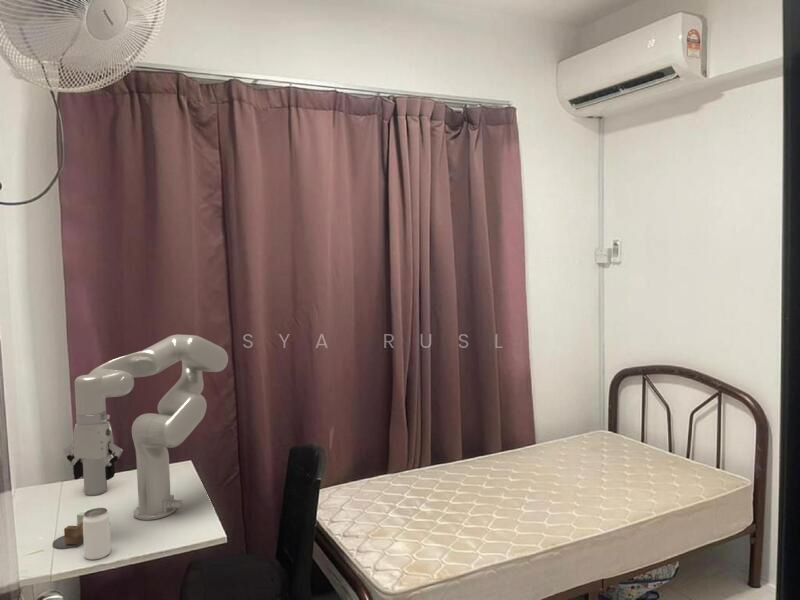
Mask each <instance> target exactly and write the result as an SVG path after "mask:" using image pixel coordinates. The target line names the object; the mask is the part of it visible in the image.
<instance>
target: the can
mask: <svg viewBox="0 0 800 600" xmlns="http://www.w3.org/2000/svg"><path fill="white" fill-rule="evenodd" d="M110 525H111V522H110V514H109V512H108V509H107V508H105V507H97V508H92V509H91V508H90V509H89V510H87V511H85V513H84V518H83V539H84V543H83V553H84V554H83V555H84V558H85V559H86V560H88V561H97V560H101V559H104V558H105V557H107V556H109V555H110V553H111V551H112V550H111V549H112V547H111V546H112V545H111V528H110V527H111V526H110Z"/></svg>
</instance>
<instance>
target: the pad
mask: <svg viewBox="0 0 800 600" xmlns="http://www.w3.org/2000/svg"><path fill="white" fill-rule="evenodd" d="M81 545H84V539H82V540H81V542H80V543H78V544H65V536H64V535H61V536H60V537H56V539H54V540H53V542H52V547H53V548H54V549H57V550H67V549H68V550H69V549H73V548H76V547H79V546H81Z"/></svg>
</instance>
